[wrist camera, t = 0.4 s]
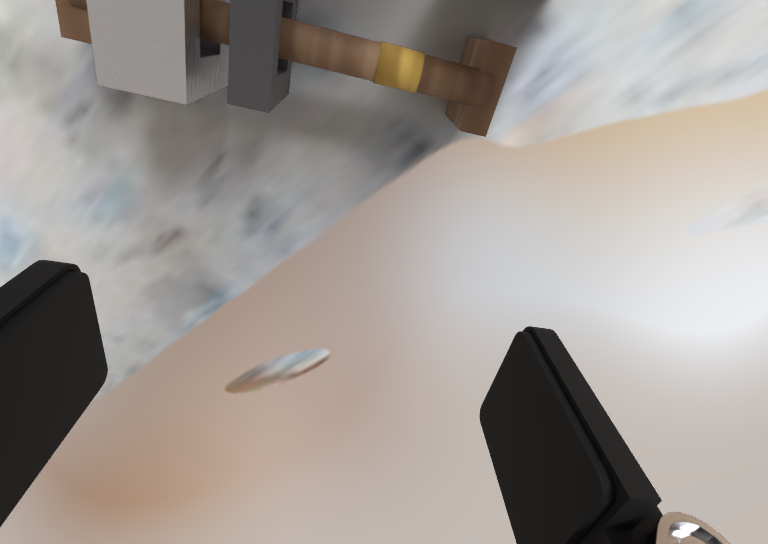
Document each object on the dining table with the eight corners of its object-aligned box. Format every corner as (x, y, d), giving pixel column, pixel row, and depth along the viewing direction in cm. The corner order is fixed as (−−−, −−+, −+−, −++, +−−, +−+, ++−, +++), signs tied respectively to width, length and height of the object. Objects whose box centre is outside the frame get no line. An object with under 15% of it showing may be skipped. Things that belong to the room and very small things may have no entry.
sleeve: (162, 70, 31) (97, 85, 23) (155, -78, 27) (71, -118, 19) (228, 85, 32) (186, 104, 24) (232, -56, 27) (182, -86, 20)
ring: (256, 86, 32) (227, 103, 25) (264, -38, 28) (231, -58, 21) (288, 93, 32) (268, 112, 25) (300, -28, 28) (280, -44, 21)
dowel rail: (115, 34, 31) (53, 36, 25) (105, -63, 28) (31, -88, 22) (466, 119, 36) (488, 139, 29) (490, 43, 32) (520, 48, 26)
